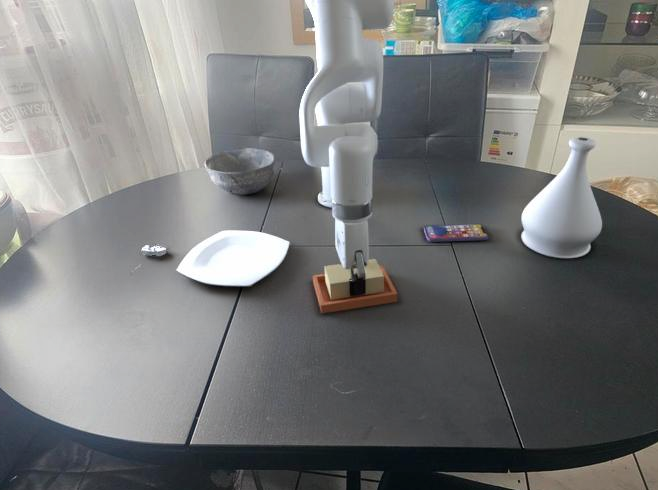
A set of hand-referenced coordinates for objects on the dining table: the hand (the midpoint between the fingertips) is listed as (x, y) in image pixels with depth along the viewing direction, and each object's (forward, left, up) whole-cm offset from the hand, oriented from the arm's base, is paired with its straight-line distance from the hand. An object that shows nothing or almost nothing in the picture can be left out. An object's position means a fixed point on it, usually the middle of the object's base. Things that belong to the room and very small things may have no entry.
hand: (353, 283), depth 92 cm
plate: (-18, -24, -2) cm, 30 cm away
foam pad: (0, 0, -1) cm, 1 cm away
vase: (-8, +52, -2) cm, 53 cm away
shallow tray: (0, 0, -2) cm, 2 cm away
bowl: (-59, -21, -2) cm, 62 cm away
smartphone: (-17, +30, -2) cm, 34 cm away
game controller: (-24, -45, -2) cm, 51 cm away
